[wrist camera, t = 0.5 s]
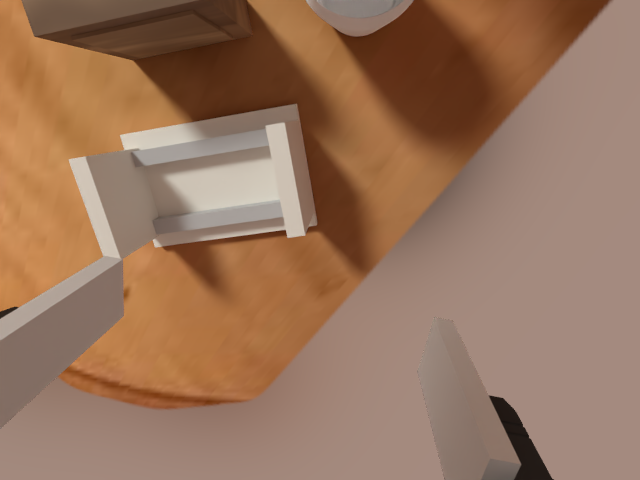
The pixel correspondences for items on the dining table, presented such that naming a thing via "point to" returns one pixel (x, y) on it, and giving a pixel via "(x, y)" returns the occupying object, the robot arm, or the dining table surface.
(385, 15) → the cup
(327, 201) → the dining table surface
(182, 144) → the track frame
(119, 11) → the door panel
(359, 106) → the dining table surface
